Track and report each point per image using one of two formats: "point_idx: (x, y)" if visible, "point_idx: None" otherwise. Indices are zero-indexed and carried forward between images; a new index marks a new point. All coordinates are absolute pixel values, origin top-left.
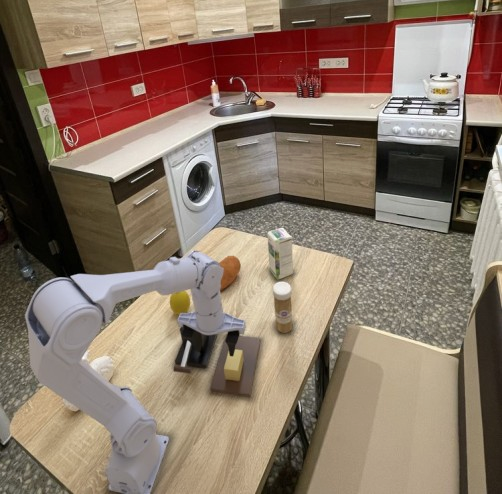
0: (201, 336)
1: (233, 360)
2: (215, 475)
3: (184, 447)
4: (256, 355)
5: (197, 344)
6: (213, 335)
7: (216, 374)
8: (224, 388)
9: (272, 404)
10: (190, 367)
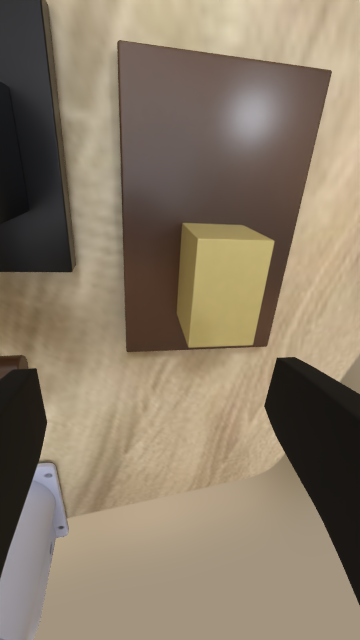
0: (3, 412)
1: (230, 303)
2: (190, 478)
3: (103, 462)
4: (301, 193)
5: (16, 506)
6: (31, 60)
7: (133, 300)
8: (179, 343)
9: (323, 344)
10: None
